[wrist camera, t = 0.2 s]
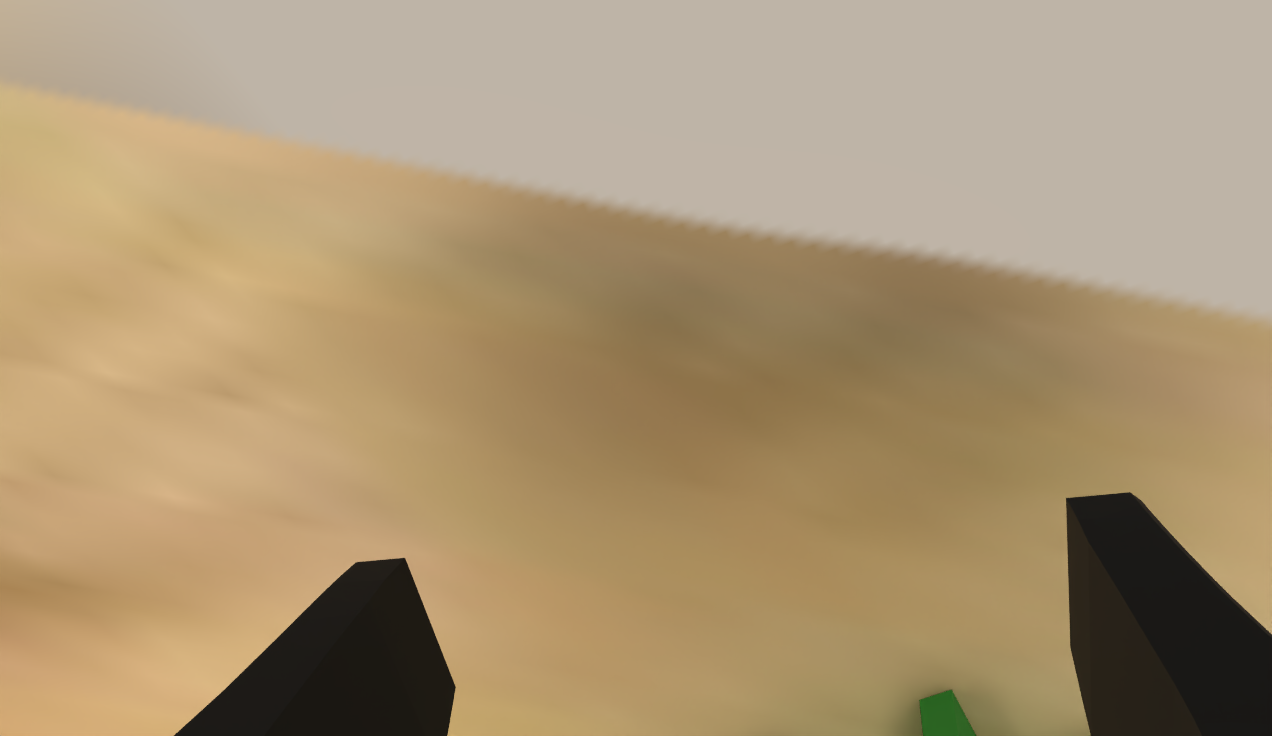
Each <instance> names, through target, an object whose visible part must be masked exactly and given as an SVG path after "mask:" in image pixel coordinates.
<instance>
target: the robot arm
mask: <svg viewBox="0 0 1272 736" xmlns="http://www.w3.org/2000/svg"><path fill="white" fill-rule="evenodd" d="M1066 508H1067V542H1068V577H1069V611H1070V646H1071V651H1072V656H1073V660H1074V665H1075V669H1076V674H1077V678H1078V682H1079V687H1080V691H1081V696H1082V700H1083V704H1084V708H1085V712H1086V717H1087V721H1088V725H1089V729H1090V733H1091V736H1272V634H1271V633H1269V632H1268V631H1267V630H1266V629H1265V628H1264V627H1263V626H1262V625H1261V624H1260V623H1259V622H1258V621H1257V620H1256V619H1255V618H1254V617H1252V616H1251V615H1250V614H1249V613H1248V612H1247V611H1246V610H1245V609H1244V608H1243V607H1242V606H1241V605H1240V604H1239V603H1238V602H1237V601H1235V600H1234V599H1233V598H1232V597H1231V596H1230V595H1229V594H1228V593H1227V592H1226V591H1225V590H1224V589H1223V588H1222V587H1221V586H1220V585H1219V584H1218V583H1217V582H1216V581H1215V580H1214V579H1213V578H1212V577H1211V576H1210V575H1209V574H1208V573H1207V572H1206V571H1205V570H1204V569H1203V567H1202V566H1201V565H1200V564H1199V563H1198V562H1197V561H1196V560H1195V559H1194V558H1193V557H1192V556H1191V555H1190V554H1189V553H1188V552H1187V551H1186V550H1185V549H1184V548H1183V547H1182V546H1181V544H1180V543H1179V542H1178V541H1177V540H1176V539H1175V538H1174V537H1173V536H1172V535H1171V534H1170V533H1169V531H1168V530H1167V529H1166V528H1165V527H1164V526H1163V525H1162V524H1161V523H1160V521H1159V520H1158V519H1157V518H1156V517H1155V516H1154V515H1153V514H1152V512H1151V511H1150V510H1149V509H1148V508H1147V507H1146V506H1145V504H1144V503H1143V502H1142V501H1141V500H1140V499H1138V498H1137V497H1136V496H1134V495H1133V494H1132V493H1130V492H1129V493H1118V494H1107V495H1096V496H1085V497H1074V498H1066ZM455 688H456V687H455V684H454V682H453V679H452V677H451V674H450V672H449V669H448V667H447V664H446V661H445V659H444V656H443V654H442V651H441V649H440V646H439V644H438V641H437V638H436V636H435V633H434V631H433V628H432V626H431V623H430V621H429V618H428V616H427V613H426V610H425V608H424V605H423V603H422V600H421V598H420V595H419V593H418V590H417V587H416V585H415V582H414V580H413V577H412V575H411V572H410V570H409V567H408V564H407V562H406V559H405V558H399V559H388V560H377V561H366V562H356V563H355V564H354V565H353V566H351V567H350V568H349V569H348V570H347V571H346V572H345V573H343V574H342V575H341V576H340V577H339V578H338V579H337V580H336V581H335V582H334V583H333V584H332V585H331V586H330V587H329V588H328V589H326V590H325V591H324V592H323V593H322V594H321V595H320V596H319V597H318V598H317V599H316V600H315V601H314V602H313V603H312V604H311V605H310V606H309V607H308V608H307V609H306V610H305V611H304V612H303V613H302V614H301V615H300V616H299V617H298V618H297V619H296V620H295V621H294V622H293V623H292V624H291V625H290V626H289V627H288V628H287V629H286V630H285V631H284V632H283V633H282V634H281V635H280V636H279V637H278V638H277V639H276V640H275V641H274V642H273V643H272V644H271V645H270V646H269V647H268V648H267V649H266V650H265V651H264V652H263V653H262V654H261V655H260V656H259V657H258V658H256V659H255V660H254V661H253V662H252V663H251V664H250V665H249V666H248V667H247V668H246V669H245V670H244V671H243V672H242V673H241V674H240V675H239V676H238V677H237V678H236V679H235V680H234V681H233V682H232V683H231V684H230V685H229V686H228V687H227V688H226V689H225V690H224V691H223V692H222V693H221V694H219V695H218V696H217V697H216V698H215V699H214V700H213V701H212V702H211V703H209V704H208V705H207V706H206V707H205V708H204V709H203V710H202V711H201V712H200V713H198V714H197V715H196V716H195V717H194V718H193V719H192V720H191V721H190V722H189V723H187V724H186V725H185V726H184V727H183V728H182V729H181V730H180V731H179V732H178V733H176V734H175V735H174V736H447V734H448V729H449V723H450V717H451V711H452V705H453V699H454V693H455Z"/></svg>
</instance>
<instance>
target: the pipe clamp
mask: <svg viewBox="0 0 1272 736" xmlns="http://www.w3.org/2000/svg"><path fill="white" fill-rule="evenodd" d="M919 701H920V711H921V720H922V730H923V736H976V734H975V733H974V731H973V729H972V727H971V725H970V723H969V721H968V719H967V718H966V716H965V714H964V712H963V710H962V708H961V706H960V704H959V703H958V701H957V699H956V697H955V695H954V693H953V691H952V690H949V691H946V692H943V693H940V694H936V695H933V696H930V697H927V698H924V699H921V700H919Z"/></svg>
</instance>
